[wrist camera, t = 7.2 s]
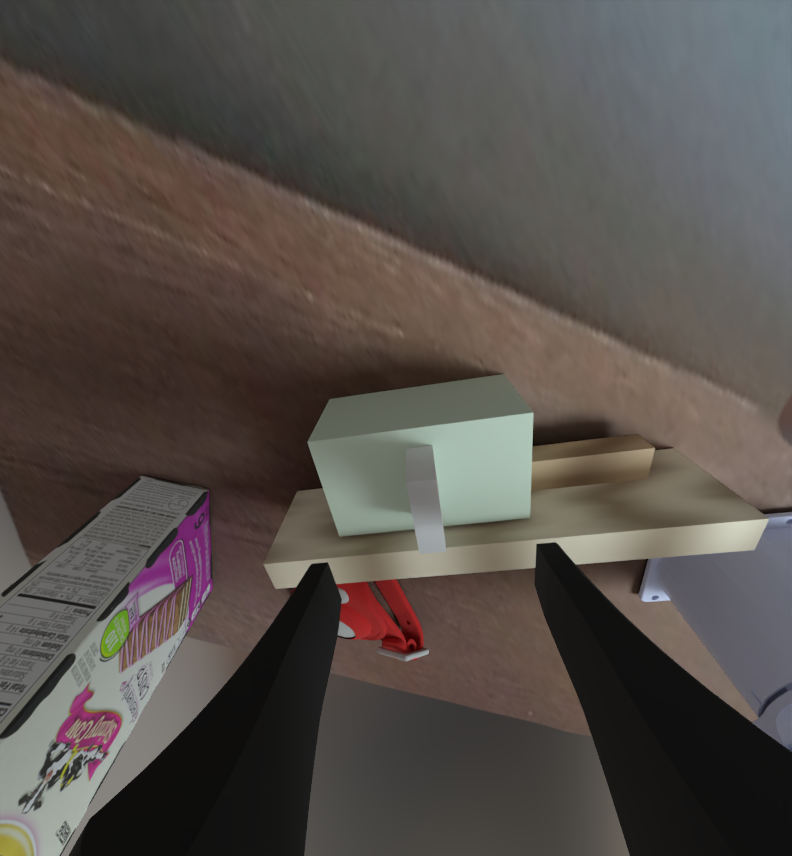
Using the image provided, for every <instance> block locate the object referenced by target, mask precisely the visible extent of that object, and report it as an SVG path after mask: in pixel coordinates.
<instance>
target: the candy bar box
mask: <svg viewBox="0 0 792 856" xmlns="http://www.w3.org/2000/svg"><path fill="white" fill-rule="evenodd" d="M212 589H213V582H212V562H211V533H210V503H209V490H208V489H205V488H202V487H198V486H194V485H187V484H181V483H176V482H171V481H166V480H162V479H158V478H153V477H147V476H140V477H139V478H138V479H137V480H135V481H134V482H133V483H132V484H131V485H130V486H128V487H127V488H126V489H125V490H124V491H122V492H121V493H120V494H119V495H118V496H116V497H115V498H114V499H113V500H112V501H111V502H109V503H108V504H107V505H106V506H104V507H103V508H102V509H101V510H100V511H99V512H97V513H96V514H95V515H94V516H93V517H92V518H91V519H89V520H88V521H87V522H86V523H85V524H83V525H82V526H81V527H80V528H79V529H78V530H76V531H75V532H74V533H73V534H72V535H70V536H69V537H68V538H67V539H66V540H65V541H63V542H62V543H61V544H60V545H59V546H58V547H56V548H55V549H54V550H52V551H51V552H50V553H49V554H48V555H47V556H45V557H44V558H43V559H42V560H41V561H39V562H38V563H37V564H36V565H35V566H34V567H32V568H31V569H30V570H29V571H28V572H27V573H26V574H25V575H23V576H22V577H21V578H20V579H19V580H18V581H16V582H15V583H13V584H12V585H11V586H10V587H9V588H7V589H6V590H5V591H4V592H3V593H1V594H0V856H61V854H62V853H63V851H64V849H65V847H66V845H67V844H68V842H69V840H70V838H71V837H72V835H73V833H74V831H75V830H76V828H77V826H78V824H79V822H80V821H81V819H82V817H83V816H84V814H85V812H86V810H87V809H88V806H89V804H90V803H91V801H92V799H93V798H94V796H95V795H96V793H97V791H98V789H99V787H100V786H101V784H102V782H103V780H104V779H105V777H106V775H107V774H108V771H109V770H110V768H111V766H112V765H113V763H114V762H115V759H116V757H117V756H118V754H119V752H120V750H121V748H122V747H123V745H124V743H125V742H126V739H127V738H128V736H129V734H130V733H131V731H132V729H133V728H134V726H135V724H136V722H137V720H138V718H139V716H140V714H141V713H142V711H143V709H144V707H145V706H146V704H147V702H148V701H149V699H150V697H151V695H152V694H153V692H154V690H155V688H156V687H157V685H158V683H159V682H160V680H161V678H162V676H163V675H164V672H165V671H166V669H167V667H168V666H169V664H170V662H171V660H172V658H173V657H174V655H175V653H176V652H177V650H178V648H179V646H180V644H181V643H182V641H183V639H184V638H185V636H186V634H187V633H188V631H189V629H190V627H191V625H192V624H193V622H194V620H195V618H196V617H197V615H198V613H199V611H200V610H201V608H202V606H203V605H204V603H205V601H206V599H207V598H208V596H209V594H210V593H211V591H212Z"/></svg>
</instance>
